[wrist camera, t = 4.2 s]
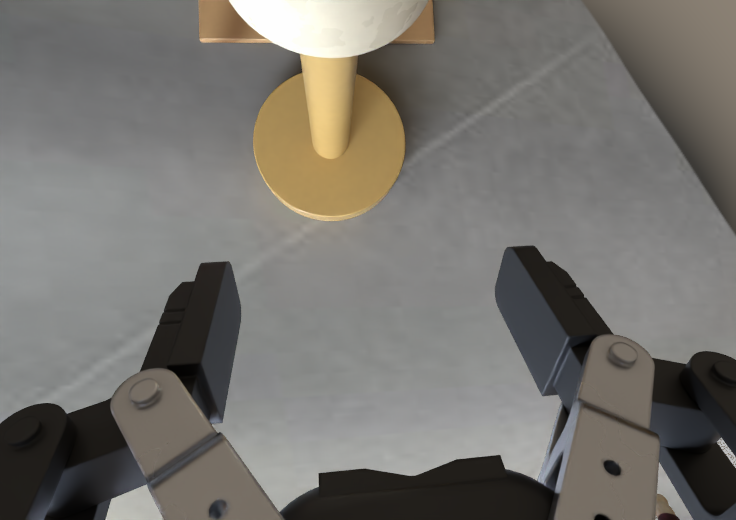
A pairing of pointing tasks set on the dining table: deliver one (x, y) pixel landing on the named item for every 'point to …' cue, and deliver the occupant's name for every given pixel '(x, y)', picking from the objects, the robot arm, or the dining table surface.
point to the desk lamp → (329, 105)
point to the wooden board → (230, 27)
